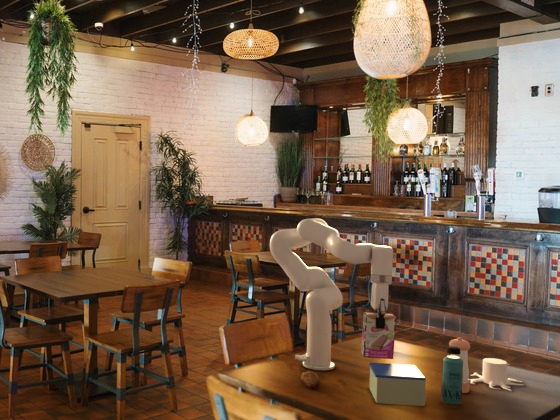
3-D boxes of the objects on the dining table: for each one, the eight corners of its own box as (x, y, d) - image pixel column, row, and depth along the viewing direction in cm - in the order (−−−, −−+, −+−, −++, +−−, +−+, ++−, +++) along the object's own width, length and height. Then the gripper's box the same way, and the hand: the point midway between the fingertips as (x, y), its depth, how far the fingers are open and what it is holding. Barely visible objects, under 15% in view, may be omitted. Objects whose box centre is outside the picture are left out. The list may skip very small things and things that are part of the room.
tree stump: (534, 385, 242) (535, 363, 241) (503, 393, 232) (504, 371, 231) (483, 371, 259) (484, 351, 258) (453, 378, 249) (454, 357, 248)
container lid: (375, 377, 219) (375, 375, 219) (368, 364, 235) (368, 362, 235) (425, 380, 217) (425, 377, 217) (415, 367, 232) (415, 364, 232)
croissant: (298, 377, 247) (298, 364, 247) (316, 378, 246) (316, 365, 246) (302, 389, 233) (302, 375, 233) (321, 390, 233) (321, 376, 233)
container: (376, 403, 220) (377, 377, 219) (369, 388, 235) (370, 364, 235) (424, 406, 217) (425, 380, 217) (414, 391, 233) (415, 367, 232)
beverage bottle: (437, 402, 221) (439, 344, 220) (455, 401, 222) (457, 344, 221) (447, 408, 215) (449, 349, 214) (466, 408, 215) (468, 349, 215)
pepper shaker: (473, 392, 232) (475, 340, 231) (453, 393, 231) (455, 340, 230) (462, 386, 239) (464, 335, 238) (443, 386, 238) (445, 335, 237)
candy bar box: (363, 358, 243) (365, 314, 242) (360, 354, 248) (362, 311, 247) (394, 359, 241) (396, 316, 241) (390, 356, 246) (392, 313, 246)
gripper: (367, 274, 252) (365, 320, 253) (374, 281, 235) (371, 331, 236) (387, 275, 250) (385, 322, 252) (396, 283, 234) (393, 332, 235)
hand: (378, 326), depth 244 cm, fingers closed on candy bar box, 5 cm apart
